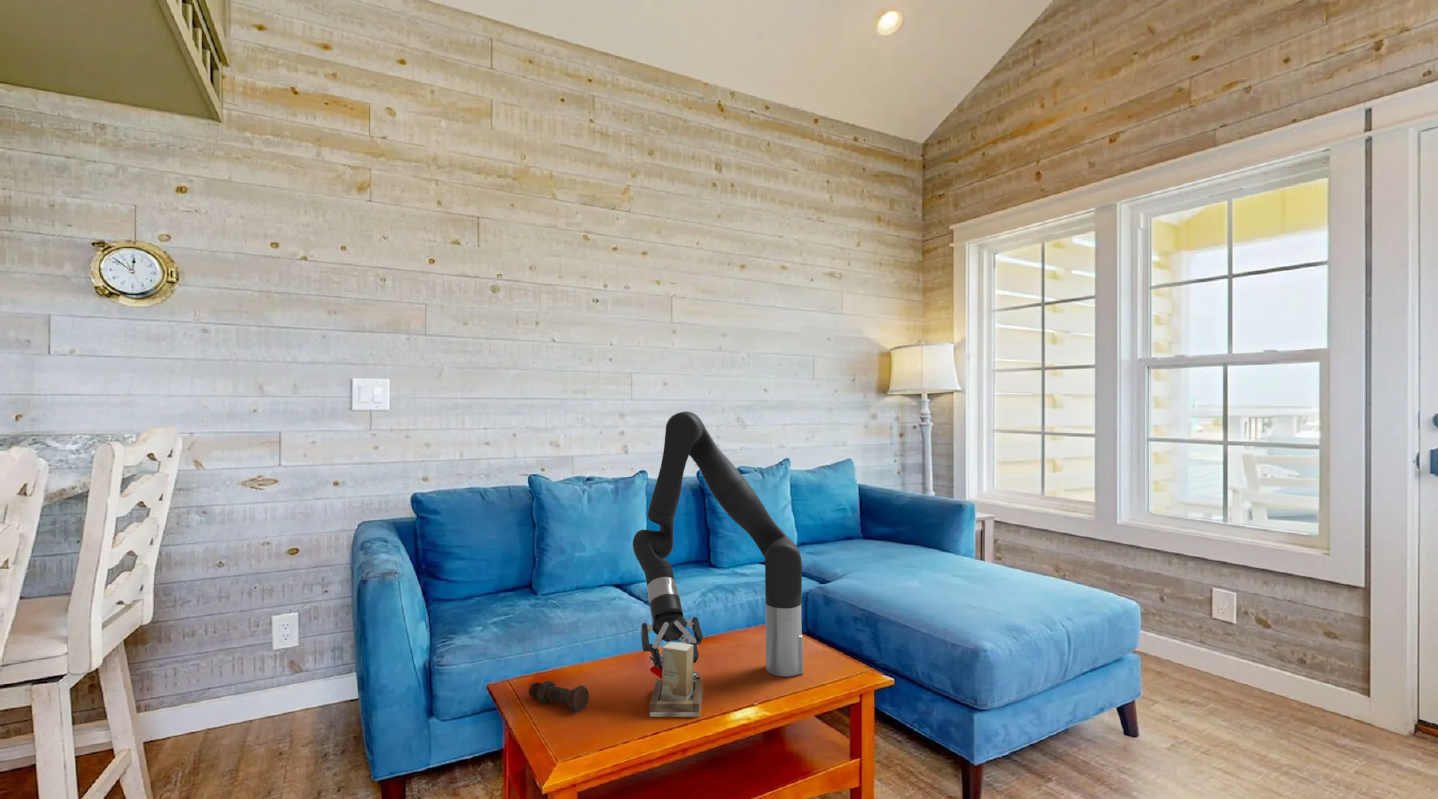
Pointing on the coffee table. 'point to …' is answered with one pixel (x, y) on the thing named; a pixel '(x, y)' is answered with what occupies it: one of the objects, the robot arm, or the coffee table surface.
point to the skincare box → (677, 672)
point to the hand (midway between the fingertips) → (677, 664)
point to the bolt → (560, 695)
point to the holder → (676, 703)
